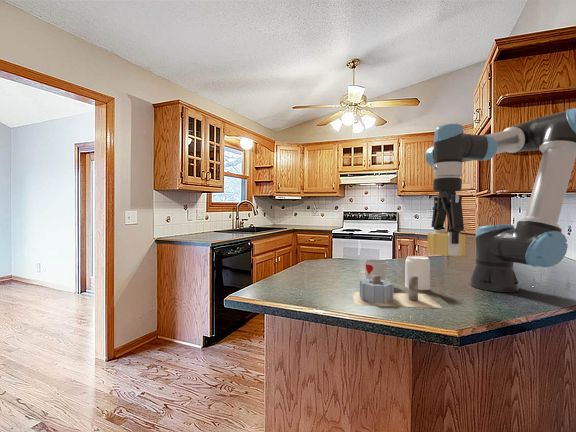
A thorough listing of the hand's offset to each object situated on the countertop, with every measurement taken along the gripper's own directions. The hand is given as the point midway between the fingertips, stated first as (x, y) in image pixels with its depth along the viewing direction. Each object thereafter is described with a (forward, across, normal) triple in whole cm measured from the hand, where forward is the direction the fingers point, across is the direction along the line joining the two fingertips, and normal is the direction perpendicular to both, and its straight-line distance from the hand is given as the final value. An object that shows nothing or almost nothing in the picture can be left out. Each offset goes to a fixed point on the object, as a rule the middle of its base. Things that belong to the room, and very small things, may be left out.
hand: (445, 252), depth 92 cm
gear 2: (0, 0, 0) cm, 0 cm away
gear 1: (+15, 0, -20) cm, 25 cm away
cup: (+16, -18, -17) cm, 30 cm away
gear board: (+16, 0, -15) cm, 22 cm away
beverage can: (+16, -16, -3) cm, 23 cm away
